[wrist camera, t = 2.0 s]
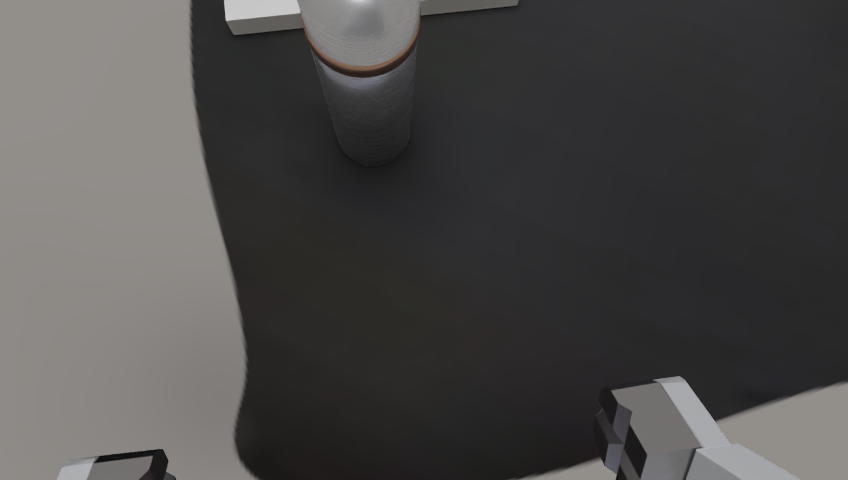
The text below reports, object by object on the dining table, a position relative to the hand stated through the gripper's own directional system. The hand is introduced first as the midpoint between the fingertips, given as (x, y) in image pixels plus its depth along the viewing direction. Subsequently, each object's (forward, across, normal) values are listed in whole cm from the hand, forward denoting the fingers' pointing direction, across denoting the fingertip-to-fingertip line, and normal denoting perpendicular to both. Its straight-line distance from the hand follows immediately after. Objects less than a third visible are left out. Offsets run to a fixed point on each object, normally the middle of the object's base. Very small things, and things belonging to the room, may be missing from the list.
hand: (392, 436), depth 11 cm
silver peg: (+23, -1, +3) cm, 23 cm away
